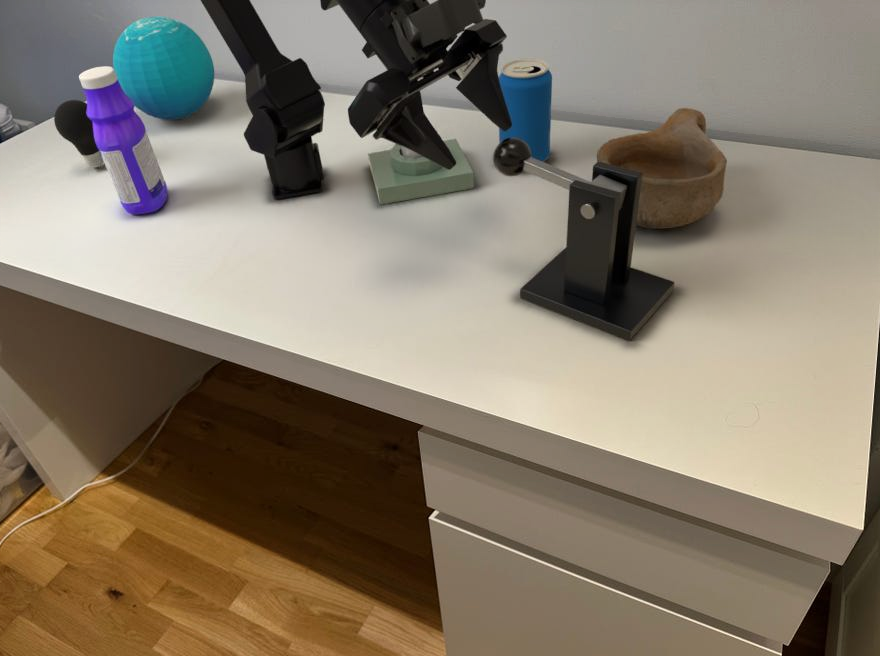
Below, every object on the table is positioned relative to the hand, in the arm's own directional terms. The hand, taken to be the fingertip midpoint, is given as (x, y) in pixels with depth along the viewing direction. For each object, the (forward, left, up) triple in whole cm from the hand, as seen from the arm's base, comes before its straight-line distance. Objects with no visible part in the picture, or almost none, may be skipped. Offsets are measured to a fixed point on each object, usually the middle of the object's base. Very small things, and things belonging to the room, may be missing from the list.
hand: (482, 147), depth 68 cm
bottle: (-40, +26, -13) cm, 49 cm away
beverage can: (+10, +20, -13) cm, 26 cm away
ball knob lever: (+5, -6, -3) cm, 8 cm away
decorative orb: (-38, +55, -13) cm, 68 cm away
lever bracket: (+9, -10, -13) cm, 18 cm away
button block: (-4, +20, -13) cm, 24 cm away
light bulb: (-49, +40, -13) cm, 64 cm away
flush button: (-4, +20, -9) cm, 22 cm away
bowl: (+21, +4, -13) cm, 25 cm away
